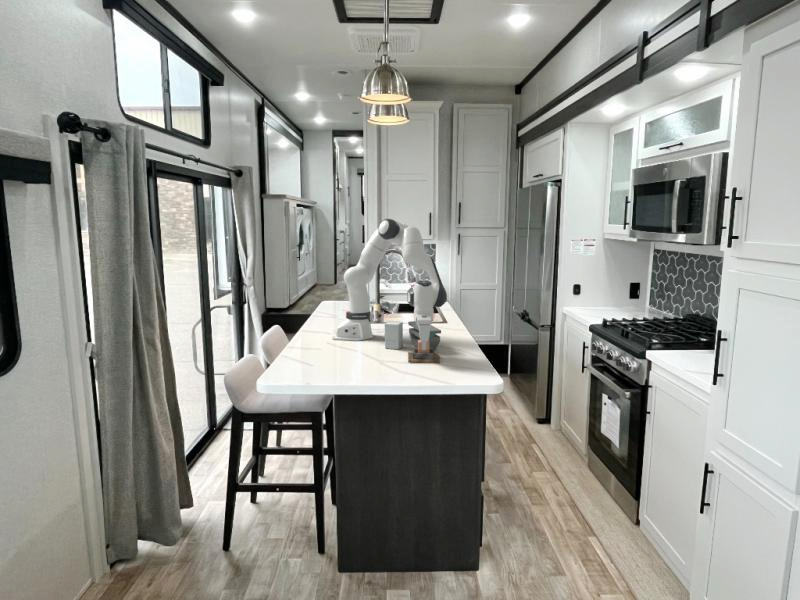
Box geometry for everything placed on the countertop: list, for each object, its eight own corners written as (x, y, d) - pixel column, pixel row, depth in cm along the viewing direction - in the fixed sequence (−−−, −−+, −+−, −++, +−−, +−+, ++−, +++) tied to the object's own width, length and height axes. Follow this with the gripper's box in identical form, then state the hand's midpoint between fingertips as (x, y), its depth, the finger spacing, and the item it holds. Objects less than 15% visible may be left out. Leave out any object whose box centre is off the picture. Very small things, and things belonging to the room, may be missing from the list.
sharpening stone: (440, 352, 238) (441, 330, 236) (425, 353, 235) (425, 331, 233) (422, 340, 261) (422, 320, 259) (408, 342, 259) (408, 321, 257)
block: (418, 357, 224) (418, 342, 223) (417, 354, 229) (417, 339, 228) (429, 357, 224) (429, 342, 223) (428, 354, 229) (428, 339, 228)
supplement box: (403, 346, 249) (403, 321, 248) (398, 349, 243) (398, 324, 241) (389, 345, 252) (389, 320, 250) (384, 348, 245) (384, 323, 243)
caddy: (408, 362, 219) (408, 354, 219) (408, 354, 233) (408, 347, 233) (439, 362, 219) (440, 354, 219) (437, 354, 233) (437, 347, 233)
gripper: (416, 312, 234) (416, 341, 236) (417, 321, 213) (417, 352, 216) (429, 312, 234) (429, 341, 236) (431, 321, 213) (431, 352, 216)
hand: (423, 346), depth 226 cm, fingers open, 8 cm apart
